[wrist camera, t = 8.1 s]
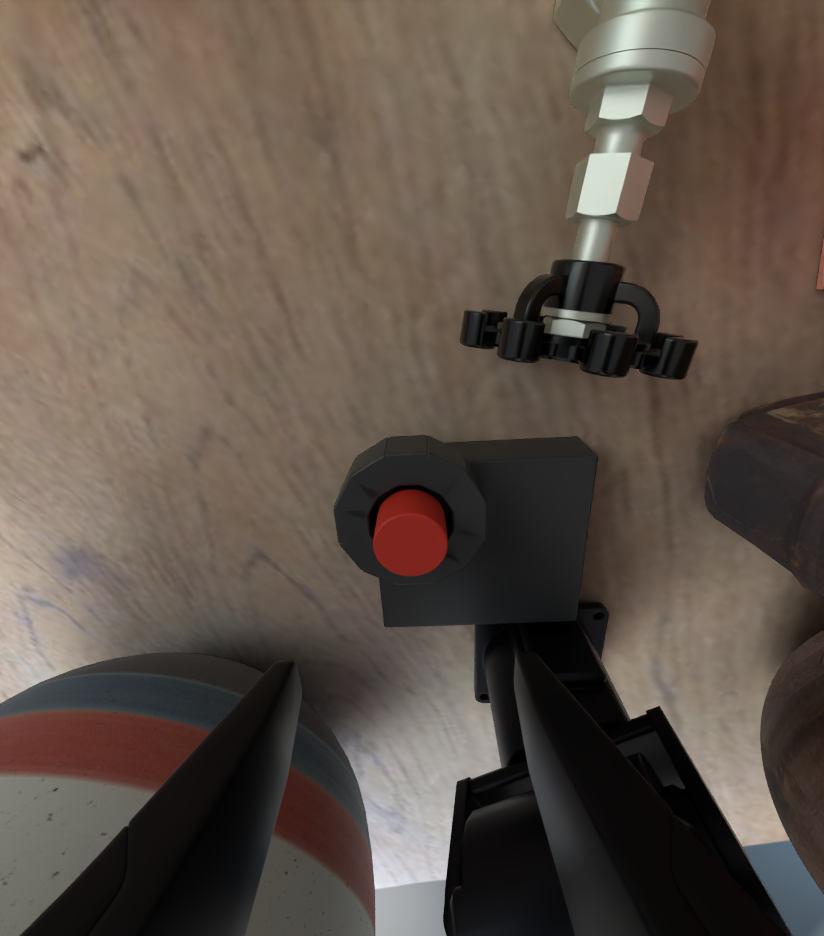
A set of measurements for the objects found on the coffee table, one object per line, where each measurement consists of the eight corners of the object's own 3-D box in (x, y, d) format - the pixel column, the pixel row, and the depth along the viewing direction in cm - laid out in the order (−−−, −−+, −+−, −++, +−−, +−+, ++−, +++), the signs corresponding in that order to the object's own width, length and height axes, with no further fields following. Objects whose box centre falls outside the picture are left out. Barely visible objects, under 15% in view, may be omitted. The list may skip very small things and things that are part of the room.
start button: (445, 545, 15) (449, 576, 14) (380, 548, 15) (376, 578, 14) (443, 486, 14) (447, 512, 13) (374, 489, 14) (369, 515, 13)
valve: (517, -143, 11) (451, 333, 16) (645, -684, 5) (473, 362, 10) (760, -105, 11) (621, 352, 16) (1173, -575, 5) (747, 393, 10)
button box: (560, 588, 20) (592, 654, 17) (366, 595, 21) (355, 662, 17) (580, 408, 17) (626, 442, 13) (344, 420, 17) (324, 457, 13)
